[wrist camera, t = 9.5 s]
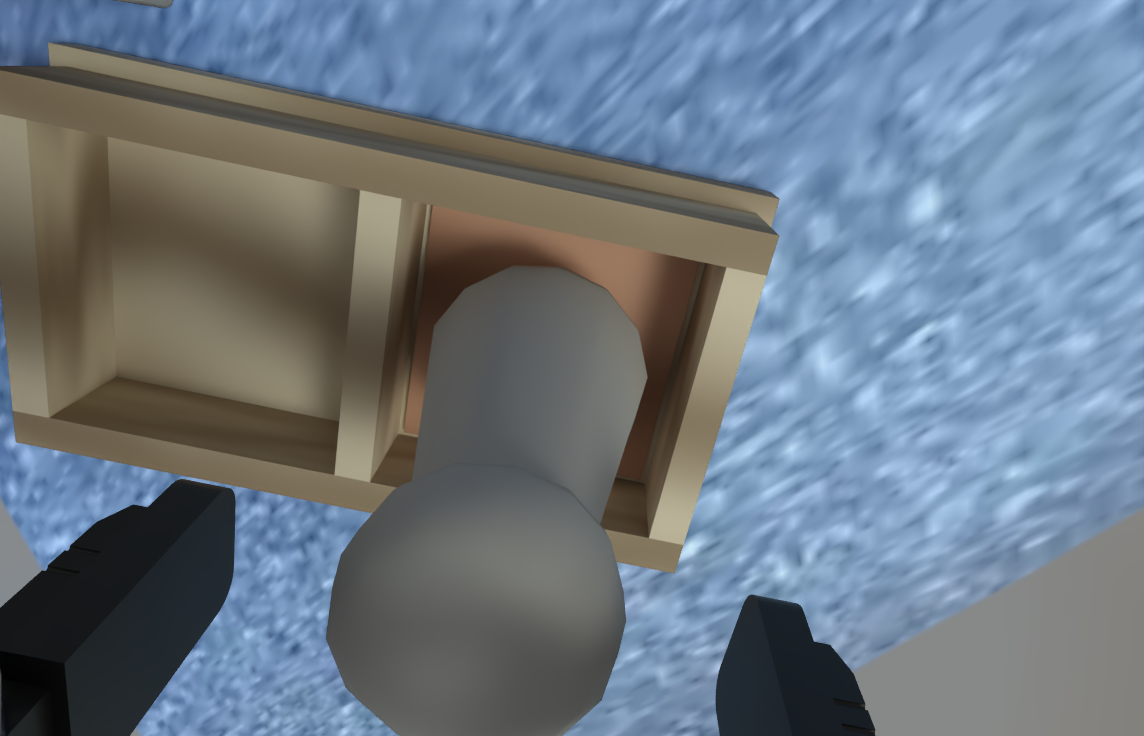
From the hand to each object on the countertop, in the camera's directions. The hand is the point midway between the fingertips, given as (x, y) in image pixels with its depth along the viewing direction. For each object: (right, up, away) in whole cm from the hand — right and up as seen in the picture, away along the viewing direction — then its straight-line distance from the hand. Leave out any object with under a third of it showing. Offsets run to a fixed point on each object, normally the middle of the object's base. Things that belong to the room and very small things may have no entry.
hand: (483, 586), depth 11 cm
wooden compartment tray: (-4, +5, +12) cm, 13 cm away
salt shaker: (+1, +4, +11) cm, 11 cm away
